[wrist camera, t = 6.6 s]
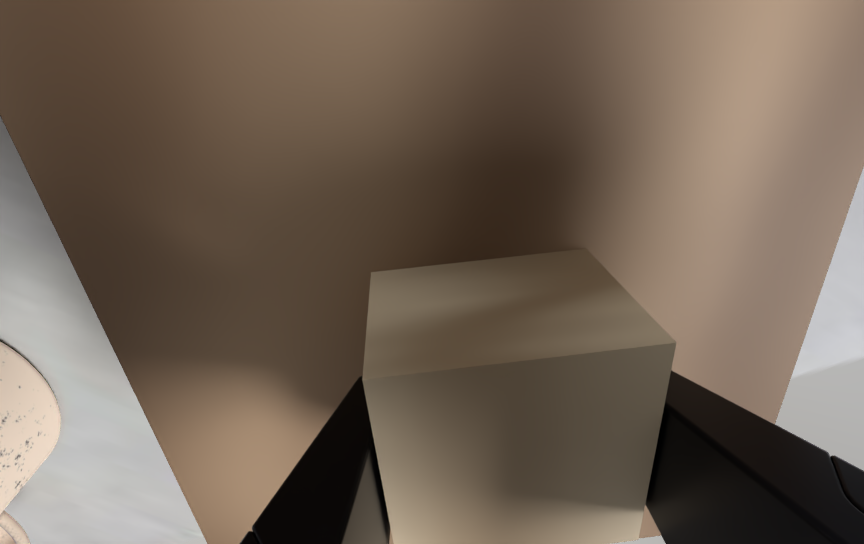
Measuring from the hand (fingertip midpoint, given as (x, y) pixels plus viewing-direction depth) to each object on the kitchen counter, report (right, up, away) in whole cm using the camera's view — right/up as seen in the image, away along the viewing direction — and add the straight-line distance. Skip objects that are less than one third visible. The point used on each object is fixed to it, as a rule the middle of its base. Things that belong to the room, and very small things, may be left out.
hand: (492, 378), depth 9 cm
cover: (0, +1, +2) cm, 2 cm away
